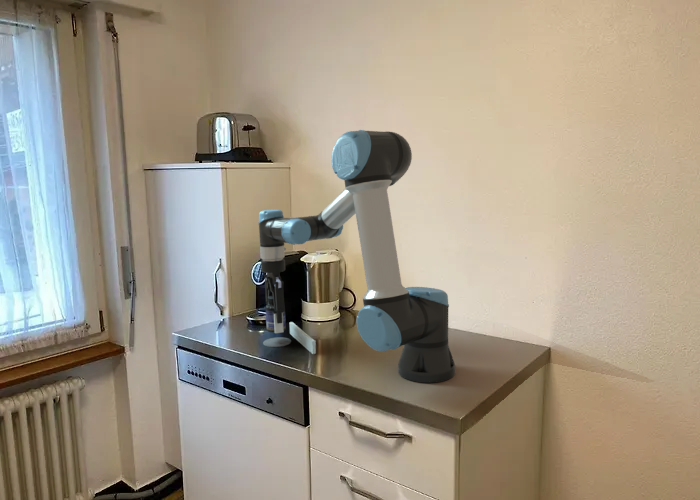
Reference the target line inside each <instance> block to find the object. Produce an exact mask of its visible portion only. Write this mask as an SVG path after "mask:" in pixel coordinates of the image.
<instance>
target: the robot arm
mask: <svg viewBox="0 0 700 500" xmlns="http://www.w3.org/2000/svg"><path fill="white" fill-rule="evenodd" d="M412 152H413V151H412V149H411V145H410V143H409V141H407V139H406V138H405V137H404V136H403V135H401V134H399V133H397V132H393V131H381V130H380V131H376V130H364V129H359V130H349V131H346V132H345V133H343V134H341V136H339V137H338V139H337V140H336V142H335V145H333V149H332V151H331V167H332V168H331V169H332V171H333V173H334V175H335V174H336V177H337V178H339V179H341V180H342V181H344V185H345V188H344V189H343V190H342V191H341V192H340V193H339V194H338V195H337V196H336V197H335V198H334V199H332V201H331V202H330V203H328V205H327V206H326V207H325V208H324V209H322V211H320V213H318V214H317V215H309V216H300V217H299V216H298V217H284V213H283V210H281V209H265V210H263V209H262V210H261V211H260V212H259V214H258V232H259V244H260V245H259V249H260V250H259V251H260V254H259V255H260V259H261V261H260V264H261V265H260V269H261V272H262V273H264V276H263V277H264V281H265V282H264V283H265V288H264V289H265V304H266V305H267V304H268V297H269V296H273V302H274V310H275V312H272V313H273V314H274V330H275V333H274V334H280V333H284V331H285V330H284V331H283V312H285V313H286V306H285V293H284V292H285V290H284V284H285V282H284V280H282V277H281V275H280V273H282V272H285V271H286V260H285V251H286V249H287V248H286V246H285V244H289V245H303V244H305V243H307V242H311V241H317V240H326V239H327V240H330V239H333V238H335V237H339V236H340V235H341V234H342V231H343V229H344V225H345V224H346V223H347V222H348V221H349V220H350V219H352V218H353V216H354V215H355V217H356V218H355V219H356V225H357V230H358V238H359V244H360V248H361V256H362V262H363V268H364V269H363V270H364V275H365V281H366V288H367V289H366V292H365V294H364V295H363V297H362V301H363V307H362V308H360V310H359V311H358V314H357V315H356V327H357V331H358V334H359V335H360V337H361V339H362V341H364V343H365V344H366V345H367V346H368V347H370V349H372V350H374V351H377V352H386V351H389V350H396V349H398V348H400V347H402V346H403V348H402V351H401V354H400V358H399V361H398V367H397V368H398V371H397V372H398V375H400V376H401V377H402V378H404V379H406V380H408V381H411V382H412V381H413V382H418V383H423V384H424V383H430V384H431V383H440V382H445V381H447V380H450V379H452V378H454V376H455V374H456V364H455V361H454V359H453V356H452V353H451V349H450V346H449V307H450V304H449V296H448V293H447V292H446V291H444V290H442V289H438V288H435V287H433V288H432V287H427V286H426V287H425V286H424V287H423V286H407V287H405V286H403V284H402V277H401V272H400V267H399V258H398V252H397V246H396V239H395V234H394V226H393V220H392V214H391V208H390V202H389V194H388V188H389V187H392V186H394V185H395V183H398V181H399V180H401V178H403V176H405V175H406V173H407V172H408V170H409V168H410V166H411V164H412V159H413V157H412V156H413V155H412ZM265 273H266V274H265Z"/></svg>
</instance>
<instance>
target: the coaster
mask: <svg viewBox="0 0 700 500" xmlns="http://www.w3.org/2000/svg"><path fill="white" fill-rule="evenodd" d="M291 343H292V340H291V339H290V338H288V337H280V336H279V337H270V338H267V339H265V340H264V341H263V342H262V344H263V346H264V347H267V348H281V347H285V346H288V345H290V344H291Z"/></svg>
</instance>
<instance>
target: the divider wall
mask: <svg viewBox="0 0 700 500" xmlns="http://www.w3.org/2000/svg"><path fill="white" fill-rule="evenodd" d="M289 334H290V335H291V336H292V338H294V339H295V340H296V341H297V342H298V343H300V344H301V346H303V347H304V348H305V349H306V350H307V351H308V352H309V353H310V354H312V355H315V354H317V344H316V342H317V341H316V340H315V339H313V337H312V336H310V335H309V334H307V333H306V332H305V331H304V330H303V329H301V328H300V327H299V326H298V325H296V323H294V322H293V321H290V322H289Z"/></svg>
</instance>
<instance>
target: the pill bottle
mask: <svg viewBox="0 0 700 500" xmlns="http://www.w3.org/2000/svg"><path fill="white" fill-rule="evenodd" d="M272 312H275V310H274V302H273V296H269V297H268V304H266V305H265V323H266V331H267V332H269V333H272V334H273V333H274V334H276V333H275V330H274V314H273V313H272ZM286 329H287V327H286V311H285V312H283V331H286Z"/></svg>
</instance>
